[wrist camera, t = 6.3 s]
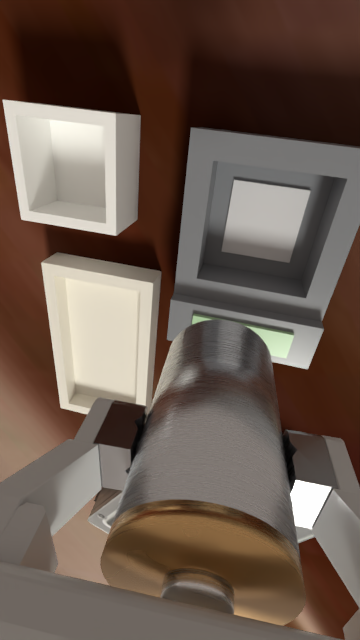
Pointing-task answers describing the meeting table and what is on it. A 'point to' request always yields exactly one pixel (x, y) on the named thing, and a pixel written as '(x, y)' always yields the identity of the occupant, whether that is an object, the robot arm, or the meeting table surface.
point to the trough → (101, 329)
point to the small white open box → (75, 165)
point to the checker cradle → (264, 235)
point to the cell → (211, 485)
